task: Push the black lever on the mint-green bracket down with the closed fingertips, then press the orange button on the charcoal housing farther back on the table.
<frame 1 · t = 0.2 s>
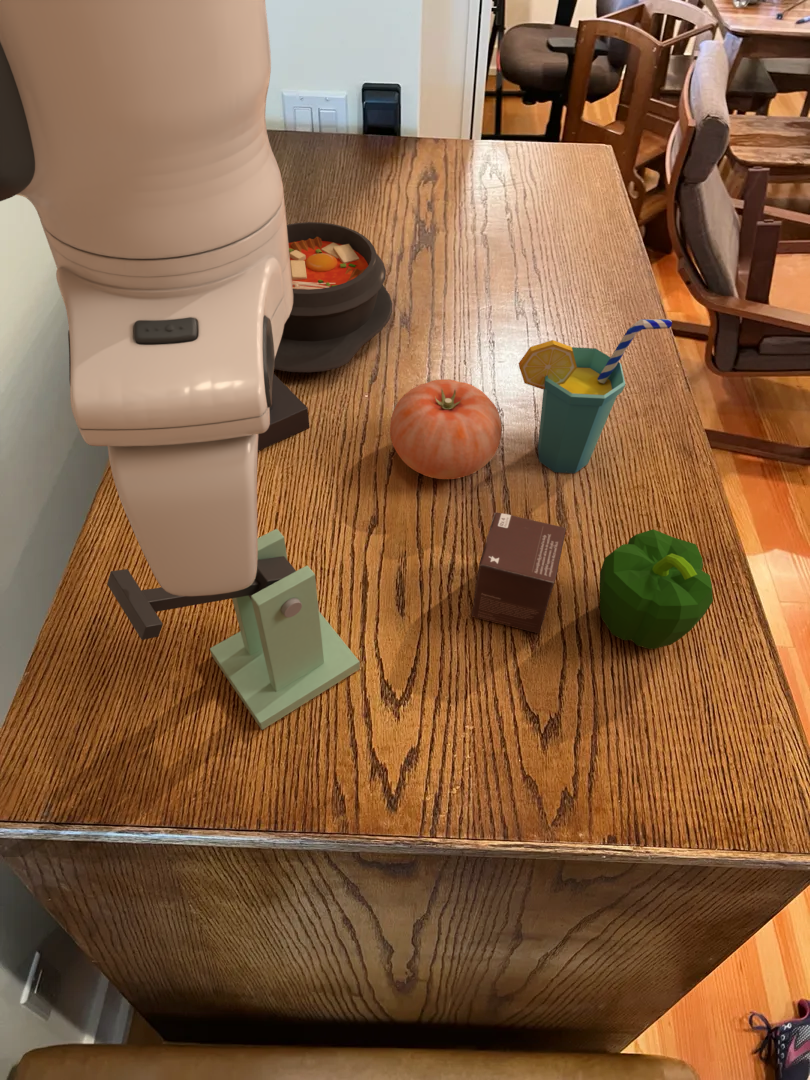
hand: (230, 502, 41), 23 cm above the cabinet, tool pointing down, fingers open, 8 cm apart
cup: (570, 455, 78), on the cabinet
tomato: (443, 459, 77), on the cabinet
casserole: (314, 321, 92), on the cabinet
lever: (213, 590, 50), point 13 cm above the cabinet, hinge at 28.0°
bell pepper: (635, 623, 65), on the cabinet
toaster bracket: (285, 662, 62), on the cabinet
box: (511, 600, 66), on the cabinet
button: (234, 386, 76), point 5 cm above the cabinet, slide at 0.1 cm
button housing: (241, 424, 80), on the cabinet
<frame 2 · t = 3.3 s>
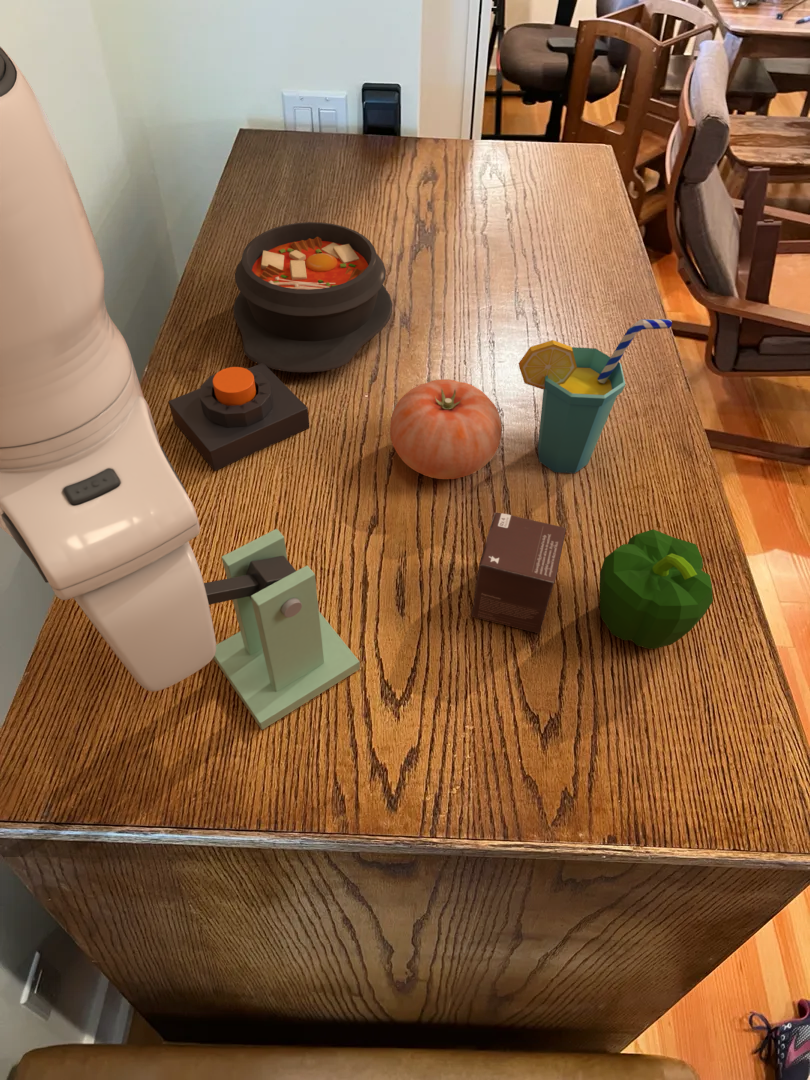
hand: (127, 602, 46), 16 cm above the cabinet, tool pointing down, fingers closed, pressing on lever
lever: (212, 592, 50), point 13 cm above the cabinet, hinge at 25.5°, touching gripper
everything else where it was.
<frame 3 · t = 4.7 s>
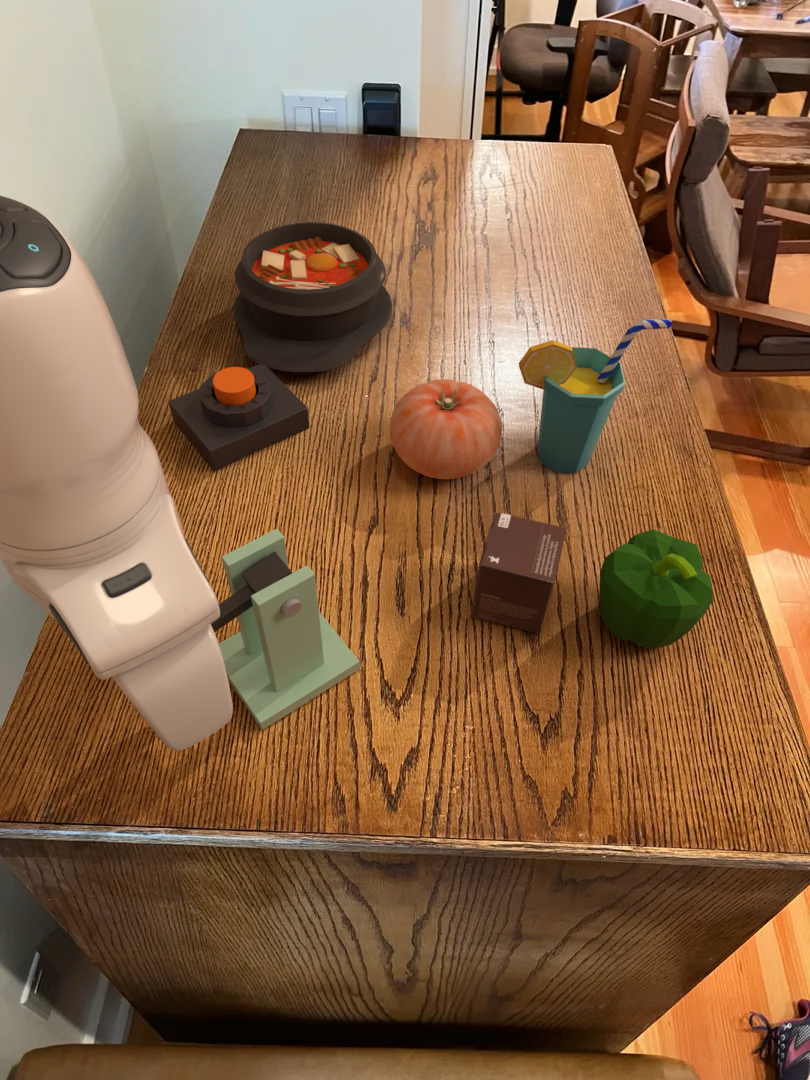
hand: (149, 658, 50), 10 cm above the cabinet, tool pointing down, fingers closed, pressing on lever
lever: (214, 619, 52), point 10 cm above the cabinet, hinge at -10.8°, touching gripper
everything else where it was.
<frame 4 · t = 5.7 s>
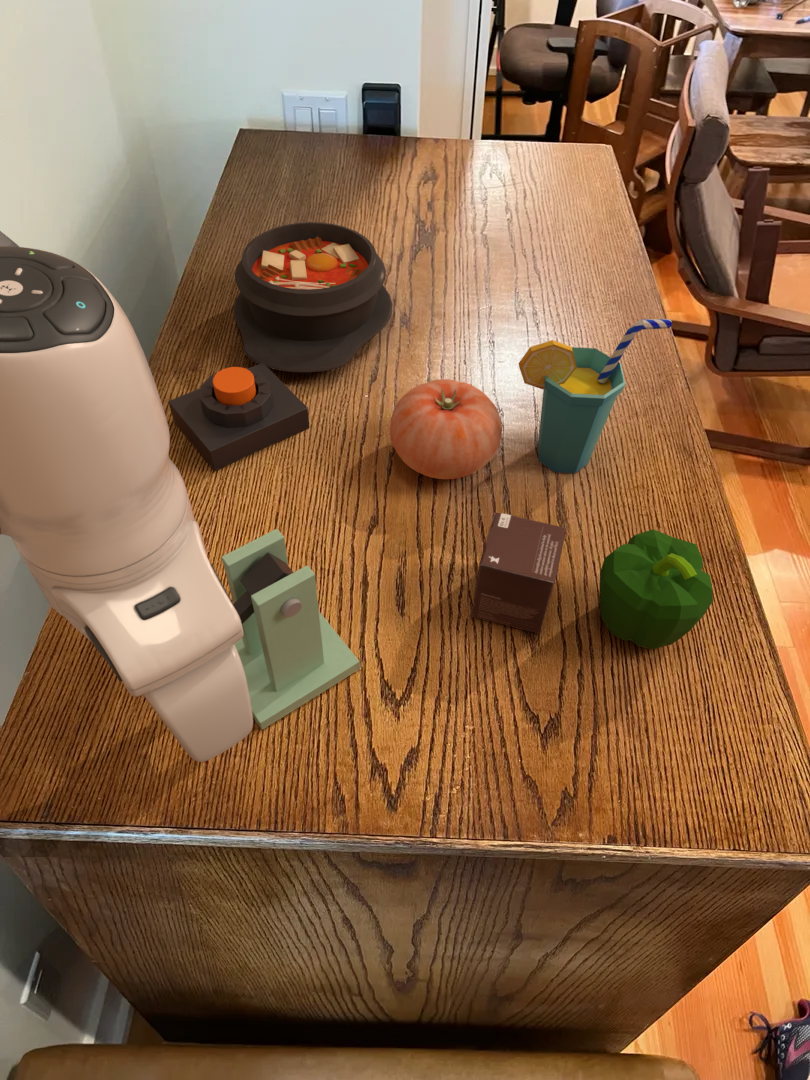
hand: (169, 671, 53), 7 cm above the cabinet, tool pointing down, fingers closed, pressing on lever
lever: (224, 627, 53), point 9 cm above the cabinet, hinge at -29.8°, touching gripper
everything else where it was.
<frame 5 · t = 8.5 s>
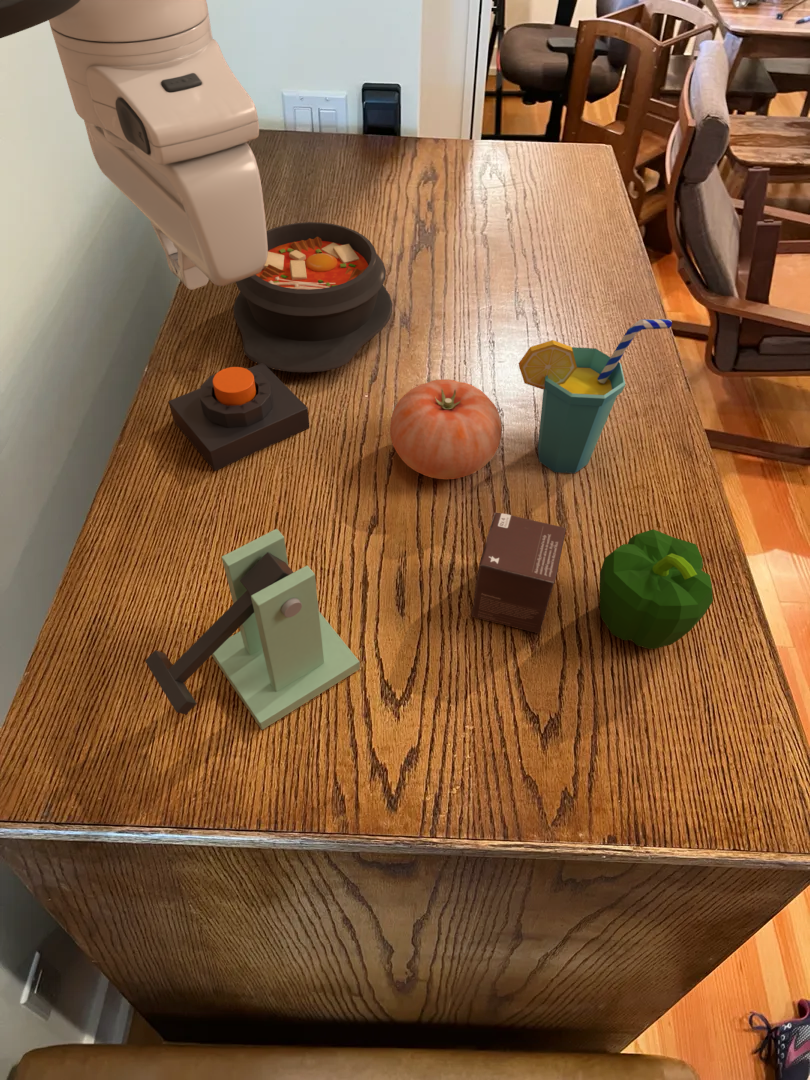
hand: (190, 278, 57), 22 cm above the cabinet, tool pointing down, fingers closed
lever: (224, 627, 53), point 9 cm above the cabinet, hinge at -29.8°
everything else where it was.
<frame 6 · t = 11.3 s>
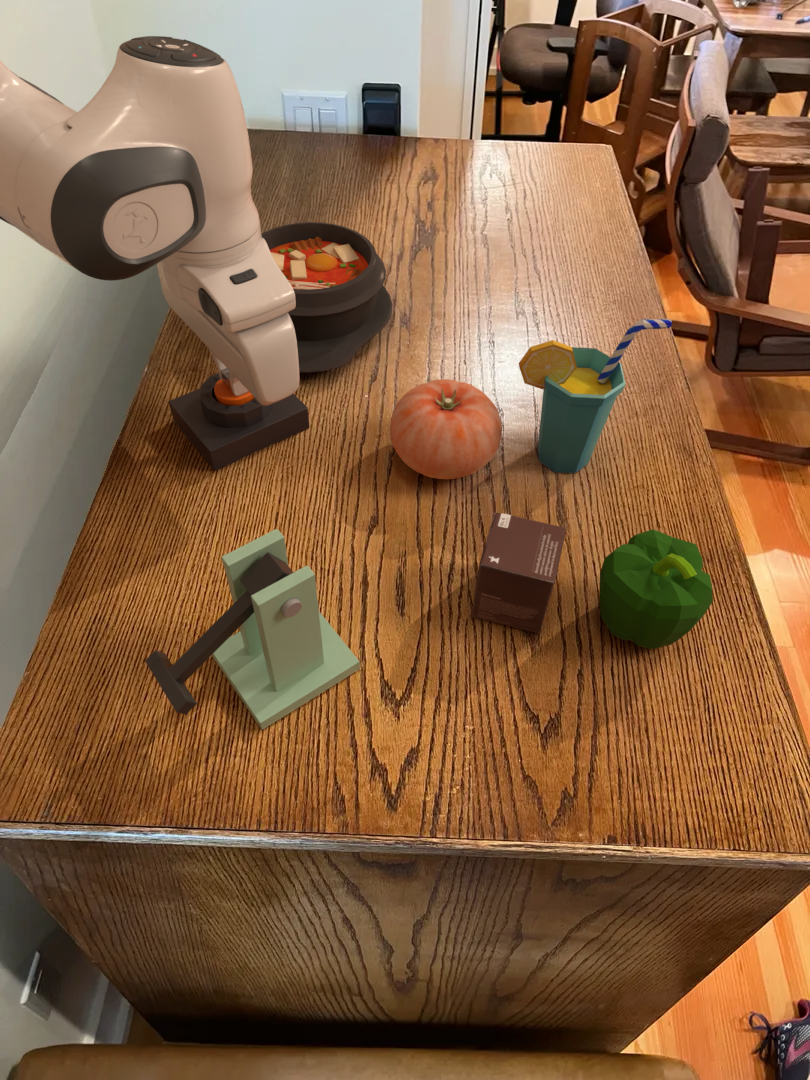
hand: (235, 386, 76), 5 cm above the cabinet, tool pointing down, fingers closed, pressing on button
button: (235, 393, 76), point 4 cm above the cabinet, slide at -0.8 cm, touching gripper
everything else where it was.
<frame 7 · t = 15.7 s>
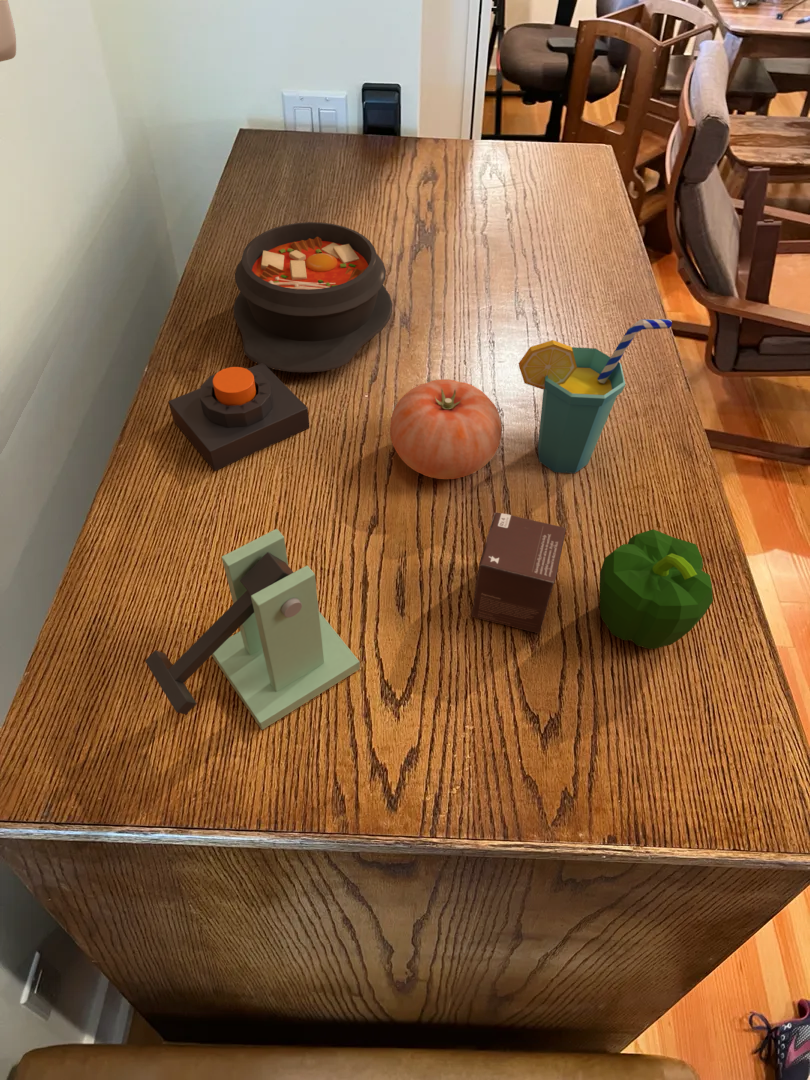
button: (234, 386, 76), point 5 cm above the cabinet, slide at 0.1 cm
everything else where it was.
at the end: lever at -30° (first picture: +28°); button pushed in 1.1 cm at the most during the clip, back to where it started at the end; button slide at 0.1 cm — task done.
